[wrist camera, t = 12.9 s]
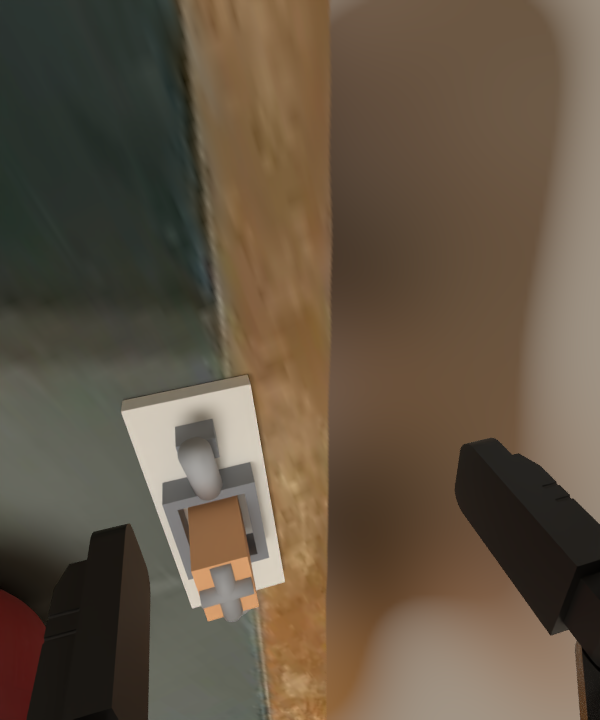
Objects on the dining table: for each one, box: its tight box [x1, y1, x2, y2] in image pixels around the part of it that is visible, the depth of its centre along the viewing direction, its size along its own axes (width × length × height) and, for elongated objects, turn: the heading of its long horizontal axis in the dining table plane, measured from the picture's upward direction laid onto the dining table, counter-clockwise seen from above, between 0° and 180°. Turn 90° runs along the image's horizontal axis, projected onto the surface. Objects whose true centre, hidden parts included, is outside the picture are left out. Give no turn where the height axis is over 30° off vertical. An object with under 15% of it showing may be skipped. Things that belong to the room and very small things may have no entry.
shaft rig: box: [121, 375, 285, 615], centre depth 41 cm, size 10×26×7 cm, turn 5°
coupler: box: [188, 495, 259, 622], centre depth 39 cm, size 6×4×9 cm, turn 5°
